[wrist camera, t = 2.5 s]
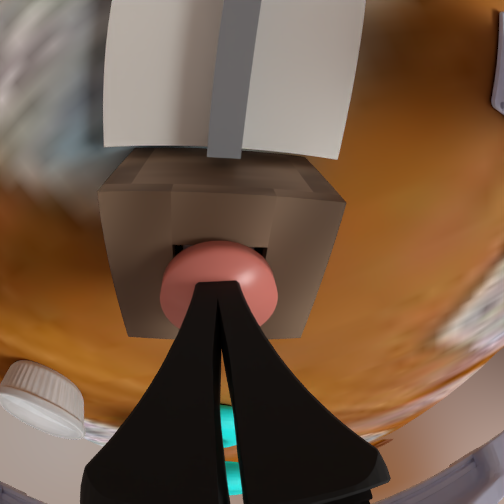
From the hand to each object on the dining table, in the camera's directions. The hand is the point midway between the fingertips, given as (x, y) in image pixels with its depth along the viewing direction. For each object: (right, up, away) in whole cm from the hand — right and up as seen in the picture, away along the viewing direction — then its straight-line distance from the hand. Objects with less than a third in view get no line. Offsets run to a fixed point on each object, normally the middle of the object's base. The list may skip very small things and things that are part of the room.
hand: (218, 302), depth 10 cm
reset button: (-1, +3, +4) cm, 5 cm away
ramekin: (-22, -13, +14) cm, 29 cm away
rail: (+1, +16, -4) cm, 16 cm away
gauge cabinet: (-1, +4, +5) cm, 6 cm away
